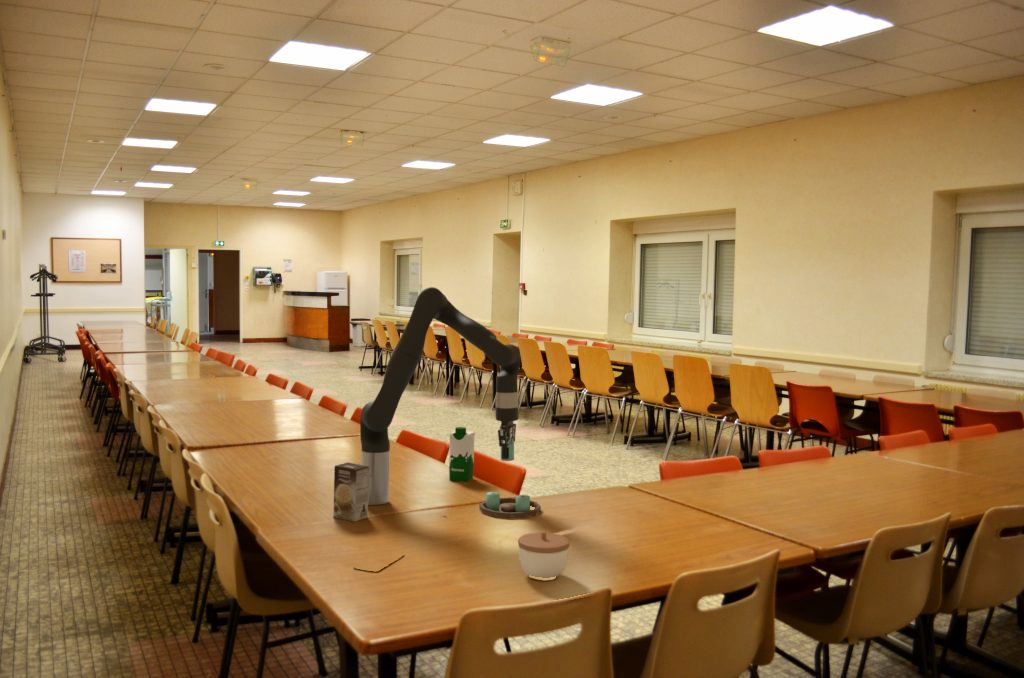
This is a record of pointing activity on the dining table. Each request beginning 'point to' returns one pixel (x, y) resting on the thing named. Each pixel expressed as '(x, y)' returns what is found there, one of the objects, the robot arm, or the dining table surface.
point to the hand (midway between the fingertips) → (507, 457)
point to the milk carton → (461, 455)
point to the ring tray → (509, 509)
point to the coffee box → (351, 491)
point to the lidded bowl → (543, 554)
